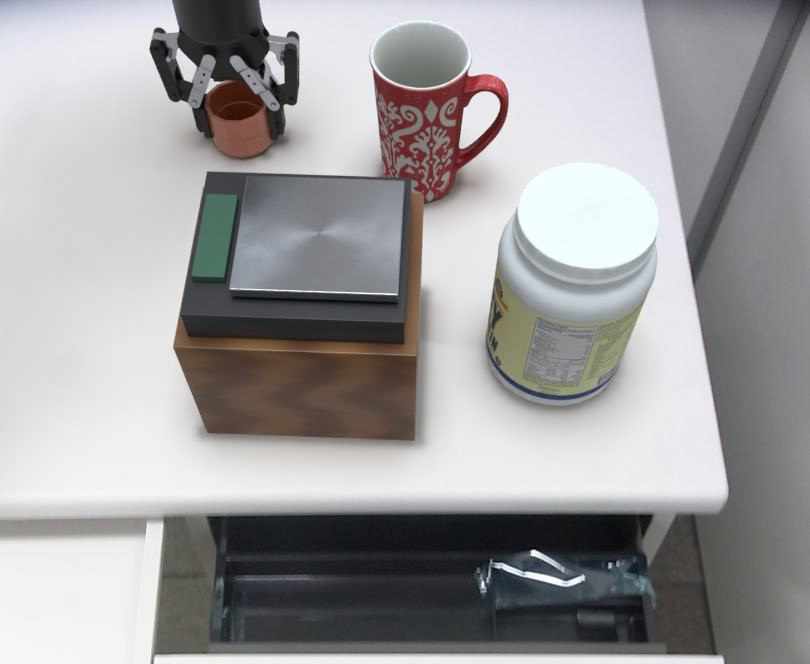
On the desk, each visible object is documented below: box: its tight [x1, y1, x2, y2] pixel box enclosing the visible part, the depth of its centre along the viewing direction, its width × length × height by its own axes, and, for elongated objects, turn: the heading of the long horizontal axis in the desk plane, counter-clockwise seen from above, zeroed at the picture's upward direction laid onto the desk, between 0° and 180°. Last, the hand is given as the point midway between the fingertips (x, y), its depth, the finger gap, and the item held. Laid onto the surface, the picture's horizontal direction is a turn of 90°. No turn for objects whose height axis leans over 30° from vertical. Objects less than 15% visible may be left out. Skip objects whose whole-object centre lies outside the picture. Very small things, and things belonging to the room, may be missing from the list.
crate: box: [172, 186, 425, 441], centre depth 70 cm, size 18×16×12 cm
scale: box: [180, 170, 412, 344], centre depth 63 cm, size 16×14×3 cm
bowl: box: [204, 80, 274, 159], centre depth 85 cm, size 6×6×4 cm
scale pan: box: [229, 176, 404, 302], centre depth 62 cm, size 12×11×1 cm
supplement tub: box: [484, 161, 660, 406], centre depth 68 cm, size 12×12×17 cm
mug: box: [368, 19, 510, 203], centre depth 78 cm, size 13×9×14 cm
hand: (242, 133), depth 86 cm, fingers closed on bowl, 6 cm apart
